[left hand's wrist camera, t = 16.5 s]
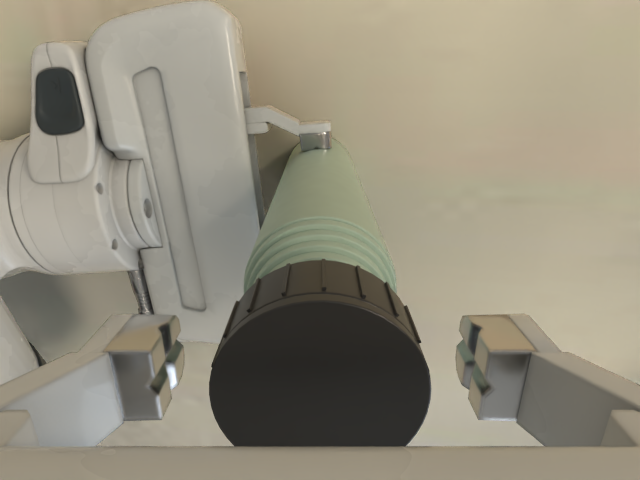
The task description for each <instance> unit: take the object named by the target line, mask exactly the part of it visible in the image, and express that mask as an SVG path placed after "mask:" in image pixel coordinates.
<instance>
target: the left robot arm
mask: <svg viewBox="0 0 640 480" xmlns="http://www.w3.org/2000/svg"><path fill="white" fill-rule="evenodd" d="M180 332H181V327H180V322H179V318H178V317H177V316H176V315H152V314H136V315H135V314H115V315H111V316H110V317H109V318H108V319H107V321H106V322H105V323H104V324H103V325H102V326H101V327H100V328H99V329H98V331H97V332H96V333H95V334H94V335H93V336H92V337H91V338H90V339H89V340H88V342H87V343H86V344H85V345H84V346H83V347H82V348H81V349H80V350H79V352H71V353H69V354H66V355H64V356H62V357H60V358H58V359H56V360H53V361H51V362H49V363H47V364H45V365H43V366H41V367H38V368H36V369H34V370H32V371H30V372H28V373H25V374H23V375H21V376H19V377H17V378H15V379H13V380H10V381H8V382H6V383H4V384H2V385H0V480H640V385H638V384H636V383H634V382H632V381H629V380H627V379H625V378H623V377H621V376H619V375H617V374H614V373H612V372H610V371H608V370H606V369H604V368H602V367H599V366H597V365H595V364H593V363H591V362H589V361H586V360H584V359H582V358H580V357H578V356H576V355H574V354H571V353H569V352H561V350H560V349H559V348H558V347H557V346H556V345H555V344H554V343H553V342H552V340H551V339H550V338H549V337H548V336H547V335H546V334H545V333H544V332H543V331H542V329H541V328H540V327H539V326H538V325H537V324H536V323H535V322H534V321H533V319H532V318H531V317H530V316H529V315H526V314H502V315H466V316H462V319H461V321H460V327H459V332H460V334H461V335H462V337H463V340H462V341H461V342H460V343H459V344H458V345H457V349H456V370H457V373H458V377H459V380H460V382H461V384H462V385H463V386H464V387H466V388H467V389H468V390H469V396H468V399H469V401H470V403H471V405H472V407H473V410H474V412H475V414H476V416H477V418H478V420H503V421H517V422H516V423H518V424H519V425H520V426H521V427H522V428H524V429H525V430H526V431H527V432H528V433H530V434H531V435H532V436H533V437H534V438H536V439H537V440H538V441H539V442H540V443H542V444H543V445H544V446H434V447H250V446H96V445H97V444H98V443H100V442H101V441H102V440H103V439H105V438H106V437H107V436H108V435H109V434H111V433H112V432H113V431H114V430H115V429H117V428H118V427H119V426H120V425H121V424H123V421H136V420H162V418H163V416H164V414H165V412H166V410H167V408H168V405H169V403H170V401H171V399H172V396H171V390H172V389H173V388H174V387H176V386H177V385H178V384H179V382H180V379H181V377H182V373H183V368H184V348H183V345H182V344H181V343H180V342H179V341H178V340H177V337H178V335H179V334H180Z"/></svg>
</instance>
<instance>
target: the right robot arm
mask: <svg viewBox="0 0 640 480" xmlns="http://www.w3.org/2000/svg"><path fill="white" fill-rule="evenodd" d="M272 124H273V125H275V126H277V127H279V128H282V129H284V130H286V131H288V132H290V133H292V134H294V135H296V136H300V143H301V151H310V150H314V149H315V148H316V147H317V148H319V149H330V148H332V141H331V123H330V121H329V120H321V121H308V122H300V120H299V119H297V118H295V117H293V116H291V115H289V114H287V113H285V112H283V111H281V110H279V109H277V108H275V107H273V106H271V105H264V106H251V100H250V92H249V84H248V76H247V68H246V60H245V52H244V45H243V37H242V29H241V24H240V22H239V20H238V19H237V18H236V17H235V16H234V15H233V14H232V13H231V12H230V11H229V10H228V9H226V8H225V7H224V6H222V5H221V4H219V3H217V2H214V1H210V0H197V1H187V2H180V3H173V4H168V5H162V6H157V7H153V8H148V9H144V10H140V11H136V12H132V13H129V14H125V15H122V16H119V17H116V18H113V19H111V20H109V21H107V22H105V23H103V24H102V25H101V26H99V27H98V28H97V29H96V30H95V31H94V32H93V34H92V35H91V37H90V38H89V41H88V42H84V41H55V42H47V43H42V44H39V45H38V46H36V47H35V49H34V50H33V53H32V58H31V122H30V133H27V134H24V135H21V136H19V137H17V138H15V139H11V140H0V279H3V278H7V277H11V276H14V275H17V274H19V273H22V272H25V271H36V272H40V273H44V274H50V275H73V274H88V273H103V272H118V271H128V275H129V279H130V283H131V286H132V289H133V292H134V295H135V296H136V299H137V302H138V306H139V308H138V312H139V314H152V315H176V316H177V317H178V318H179V322H180V327H181V332H180V334H179V335H178V337H177V340H178V341H179V342H190V341H193V342H202V343H215V344H220V341H221V339H222V336H223V333H224V330H225V328H226V325H227V323H228V320H229V317H230V315H231V312H232V309H233V307H234V304H235V302H236V301H239V300H240V299H241V298H242V296H243V295H244V275H245V269H246V266H247V263H248V260H249V257H250V255H251V252H252V250H253V247H254V245H255V242H256V240H257V237H258V235H259V232H260V230H261V227H262V225H263V222H264V220H265V211H264V203H263V195H262V187H261V179H260V171H259V164H258V156H257V148H256V140H255V134H261V133H267V132H268V131H269V130H270V129H271V128H272ZM45 364H47V363H46V362H45V361H44V359H43V358H42V357H41V355H40V354H39V353H38V352H37V350H36V349H35V347H34V346H33V345H32V344H31V343H30V342H29V341H28V340H27V339H26V337H25V336H24V334H23V332H22V331H21V329H20V327H19V326H18V324H17V322H16V321H15V319H14V317H13V316H12V314H11V312H10V311H9V309H8V307H7V306H6V304H5V302H4V301H3V299H2V297H1V296H0V385H2V384H4V383H6V382H8V381H10V380H13V379H15V378H17V377H19V376H21V375H23V374H25V373H28V372H30V371H32V370H34V369H36V368H38V367H41V366H43V365H45Z"/></svg>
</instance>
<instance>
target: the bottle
mask: <svg viewBox="0 0 640 480" xmlns="http://www.w3.org/2000/svg"><path fill="white" fill-rule="evenodd" d="M331 141H332V148H330V149H319V148H317V147H316V148H315V149H314V150H310V151H301V143H299V144H298V145H297V146H296V147H295V148H294V149H293V151H292V153H291V155H290V157H289V159H288V162H287V164H286V167H285V169H284V172H283V174H282V177H281V179H280V182H279V185H278V187H277V190H276V192H275V195H274V197H273V200H272V202H271V205H270V207H269V210H268V212H267V215H266V217H265V220H264V222H263V225H262V227H261V230H260V232H259V235H258V237H257V240H256V242H255V245H254V247H253V250H252V252H251V255H250V257H249V260H248V263H247V266H246V269H245V275H244V293H245V292H246V291H247V290H248V289H249V288H250V287H251V286H252V285H253V284H254V283H255V282H256V279H258V278H260V279H261V278H262V277H264V276H265V275H267V274H269V273H270V272H272V271H274V270H276V269H279V268H281V267H284V266H286V264H288V263H290V264H294V263H297V262H304V261H310V260H322V259H326V260H328V261H337V262H342V263H347V264H350V265H353V266H357V265H358V266H360V268H362V269H364V270H366V271H368V272H370V273H372V274H373V275H375V276H376V277H378V278H379V279H381V280H382V281H383V282H388V283H389V285H390V288H391V289H392V290H393V291H394V292H395V293H396V275H395V269H394V266H393V263H392V260H391V257H390V255H389V252H388V250H387V247H386V245H385V242H384V240H383V237H382V235H381V232H380V230H379V227H378V225H377V222H376V220H375V217H374V215H373V212H372V210H371V207H370V205H369V202H368V200H367V197H366V195H365V192H364V190H363V187H362V185H361V182H360V180H359V177H358V175H357V172H356V170H355V167H354V165H353V162H352V160H351V157H350V155H349V153H348V151H347V150H346V148H345V147H344V146H343V145H342V144H341V143H340V142H338V141H337V140H335V139H333V138H331Z"/></svg>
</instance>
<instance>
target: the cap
mask: <svg viewBox="0 0 640 480" xmlns="http://www.w3.org/2000/svg"><path fill="white" fill-rule="evenodd" d="M419 343H421V340H420V338H419V335H418V333H417V330H416V327H415V325H414V322H413V320H412V317H411V315H410V312H409V309H408V307H407V305H406V306H404V305H403V303H402V302H401V300H400V298H399V297H398V296H397V295H396V293H395V292H394V291H393V290H392V289H391V288H390V285H389V283H388V282H383V281H382V280H381V279H379V278H378V277H376V276H375V275H373V274H372V273H370V272H368V271H366V270H364V269H362V268H360V266H358V265H357V266H353V265H350V264H347V263H342V262H337V261H328V260H326V259H322V260H310V261H304V262H297V263H294V264H290V263H288V264H286V266H284V267H281V268H279V269H276V270H274V271H272V272H270V273H269V274H267V275H265V276H264V277H262V278H261V279H260V278H258V279H256V282H255V283H254V284H253V285H252V286H251V287H250V288H249V289H248V290H247V291H246V292H245V293H244V295H243V296H242V298H241V299H240V300H239V301H236V302H235V304H234V307H233V309H232V312H231V315H230V317H229V320H228V323H227V325H226V328H225V330H224V333H223V336H222V339H221V341H220V344H219V347H218V349H217V352H216V355H215V357H214V360H213V362H212V366H211V367H212V371H211V376H210V382H209V396H210V402H211V407H212V410H213V414H214V417H215V419H216V421H217V423H218V425H219V427H220V429H221V430H222V432H223V433H224V434H225V436H226V437H227V439H228V440H229V441H230V442H231V443H232V444H233V445H234V446H250V447H405V446H406V445H407V444H408V443H409V442H410V441H411V440H412V439H413V437H414V436H415V435H416V434H417V432H418V430H419V429H420V427H421V425H422V424H423V422H424V419H425V417H426V414H427V412H428V408H429V403H430V397H431V381H430V374H429V369H428V366H427V363H426V361H425V358H424V355H423V353H422V350H421V347H420V345H419Z"/></svg>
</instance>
